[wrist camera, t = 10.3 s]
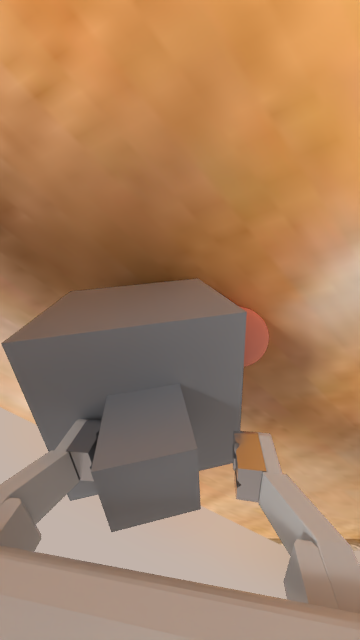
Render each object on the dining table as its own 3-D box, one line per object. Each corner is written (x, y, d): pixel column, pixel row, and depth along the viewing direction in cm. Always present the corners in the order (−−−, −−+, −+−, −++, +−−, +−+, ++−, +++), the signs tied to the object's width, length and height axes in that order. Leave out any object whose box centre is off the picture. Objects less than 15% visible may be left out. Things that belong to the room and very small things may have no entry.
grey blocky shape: (98, 395, 20) (44, 597, 9) (70, 291, 16) (-89, 411, 5) (201, 377, 21) (269, 532, 10) (197, 278, 18) (300, 348, 6)
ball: (201, 351, 20) (216, 384, 16) (199, 302, 19) (215, 322, 14) (250, 345, 21) (278, 375, 16) (253, 297, 19) (286, 315, 14)
